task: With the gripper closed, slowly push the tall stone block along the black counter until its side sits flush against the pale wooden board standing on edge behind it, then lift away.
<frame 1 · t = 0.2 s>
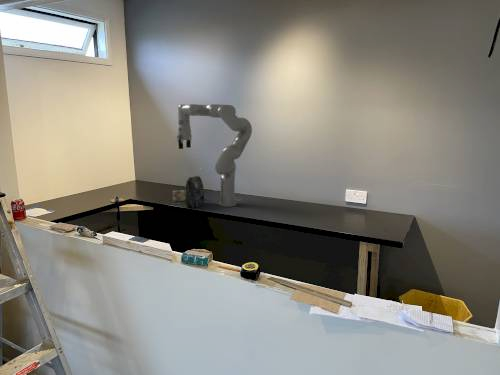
hand: (184, 148, 242), 37 cm above the table, tool pointing down, fingers open, 9 cm apart
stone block: (196, 205, 236), on the table
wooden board: (187, 200, 249), on the table
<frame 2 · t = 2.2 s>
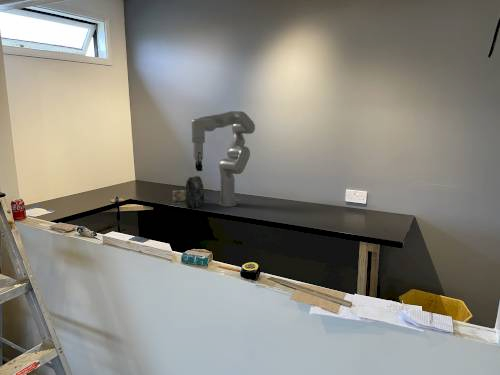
hand: (198, 169, 210), 28 cm above the table, tool pointing down, fingers open, 6 cm apart
nothing on the table moved.
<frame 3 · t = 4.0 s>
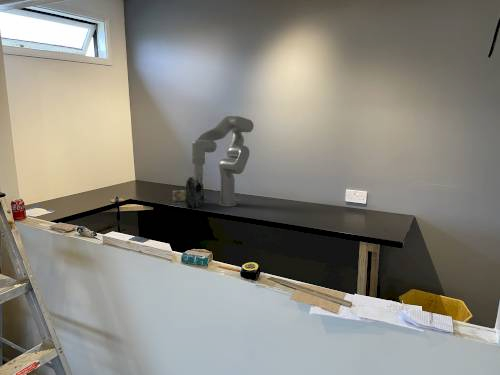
hand: (198, 191, 213), 15 cm above the table, tool pointing down, fingers closed
nothing on the table moved.
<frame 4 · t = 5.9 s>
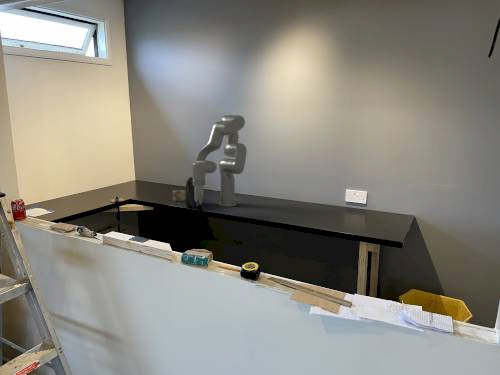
hand: (199, 211, 217), 1 cm above the table, tool pointing down, fingers closed
nothing on the table moved.
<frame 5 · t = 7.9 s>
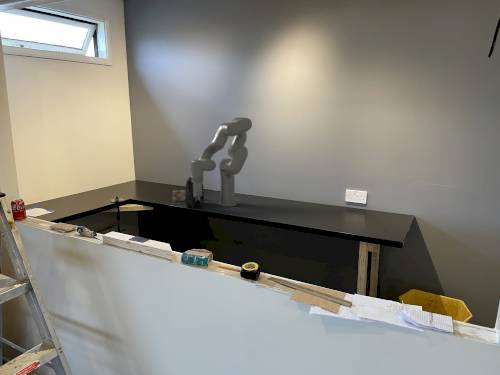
hand: (197, 206, 227), 1 cm above the table, tool pointing down, fingers closed
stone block: (196, 205, 236), on the table, touching gripper
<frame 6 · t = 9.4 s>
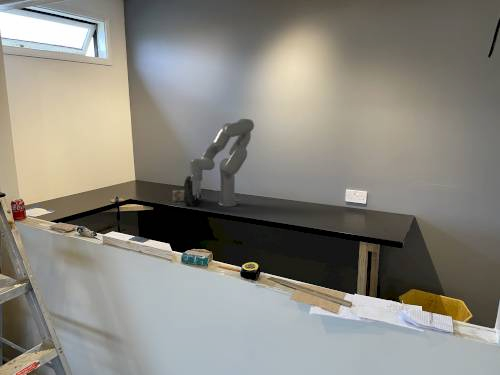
hand: (197, 204, 231), 1 cm above the table, tool pointing down, fingers closed
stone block: (194, 203, 240), on the table
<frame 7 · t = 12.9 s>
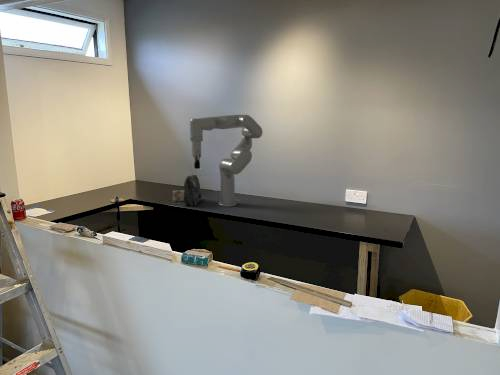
hand: (197, 168, 219), 27 cm above the table, tool pointing down, fingers closed
nothing on the table moved.
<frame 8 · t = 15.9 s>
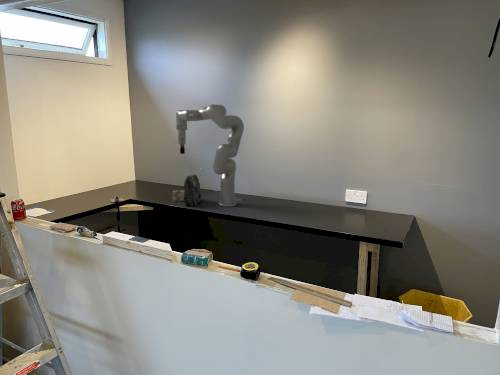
hand: (182, 153, 252), 32 cm above the table, tool pointing down, fingers closed
nothing on the table moved.
at the end: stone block 0.7 cm from the target spot on the table beside the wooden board, on the table; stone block tilted 0°; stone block moved 5.0 cm from its start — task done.
